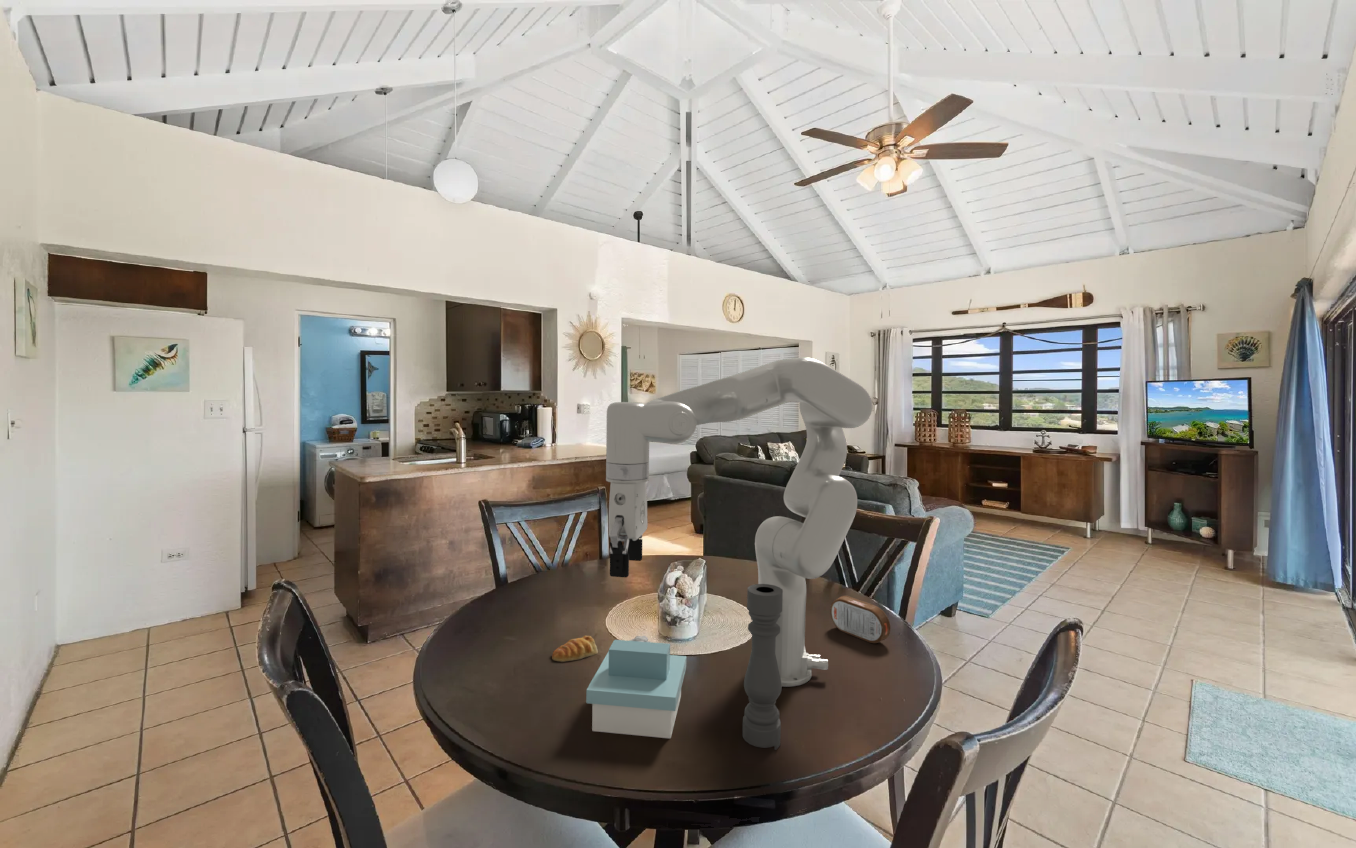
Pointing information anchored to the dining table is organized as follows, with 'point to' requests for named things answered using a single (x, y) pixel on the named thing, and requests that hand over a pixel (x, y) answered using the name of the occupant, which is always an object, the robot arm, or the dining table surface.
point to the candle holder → (763, 667)
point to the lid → (638, 676)
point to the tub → (633, 720)
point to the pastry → (575, 649)
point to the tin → (860, 619)
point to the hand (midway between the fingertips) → (626, 567)
